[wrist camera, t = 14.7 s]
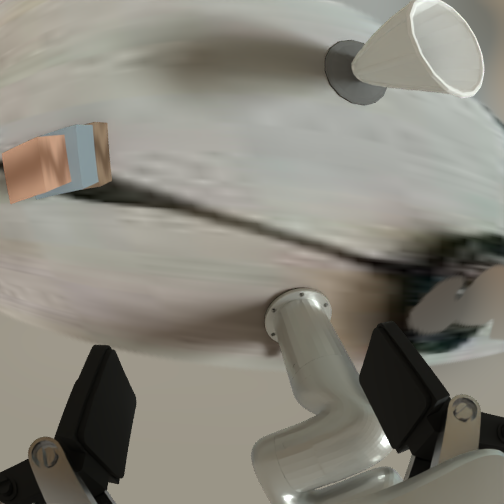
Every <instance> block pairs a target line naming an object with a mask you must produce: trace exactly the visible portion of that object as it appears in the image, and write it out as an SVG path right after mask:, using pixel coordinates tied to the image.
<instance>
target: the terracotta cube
mask: <svg viewBox="0 0 504 504" xmlns="http://www.w3.org/2000/svg"><path fill="white" fill-rule="evenodd" d="M2 159H3V166H4V172H5V178H6V184H7V189H8V194H9V199H10V204H12V203H15V202H18V201H21V200H24V199H27V198H30V197H33V196H36V195H39V194H42V193H46V192H48V191H50V190H53V189H55V188H57V187H60V186H62V185H65V184H67V183H70V182H71V176H70V171H69V165H68V158H67V151H66V144H65V135H53V136H43V137H36V138H34V139H32V140H29V141H27V142H25V143H23V144H21V145H19V146H16V147H14V148H12V149H10V150H8V151H6V152H4V153H2Z"/></svg>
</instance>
